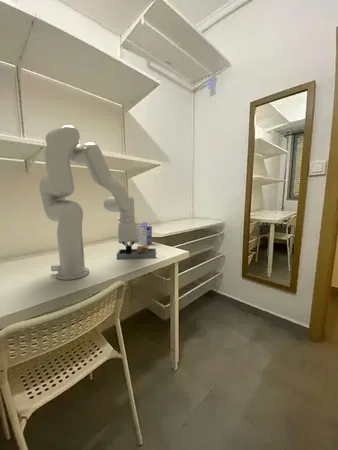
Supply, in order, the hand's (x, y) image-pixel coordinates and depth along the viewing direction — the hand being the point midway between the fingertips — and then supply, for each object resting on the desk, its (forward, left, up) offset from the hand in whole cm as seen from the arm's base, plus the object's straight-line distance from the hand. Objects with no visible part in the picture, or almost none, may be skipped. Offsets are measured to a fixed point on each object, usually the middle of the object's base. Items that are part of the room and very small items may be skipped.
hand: (129, 253), depth 115 cm
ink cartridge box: (+7, +26, -2) cm, 27 cm away
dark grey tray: (+5, 0, -2) cm, 5 cm away
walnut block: (+8, 0, -2) cm, 8 cm away
